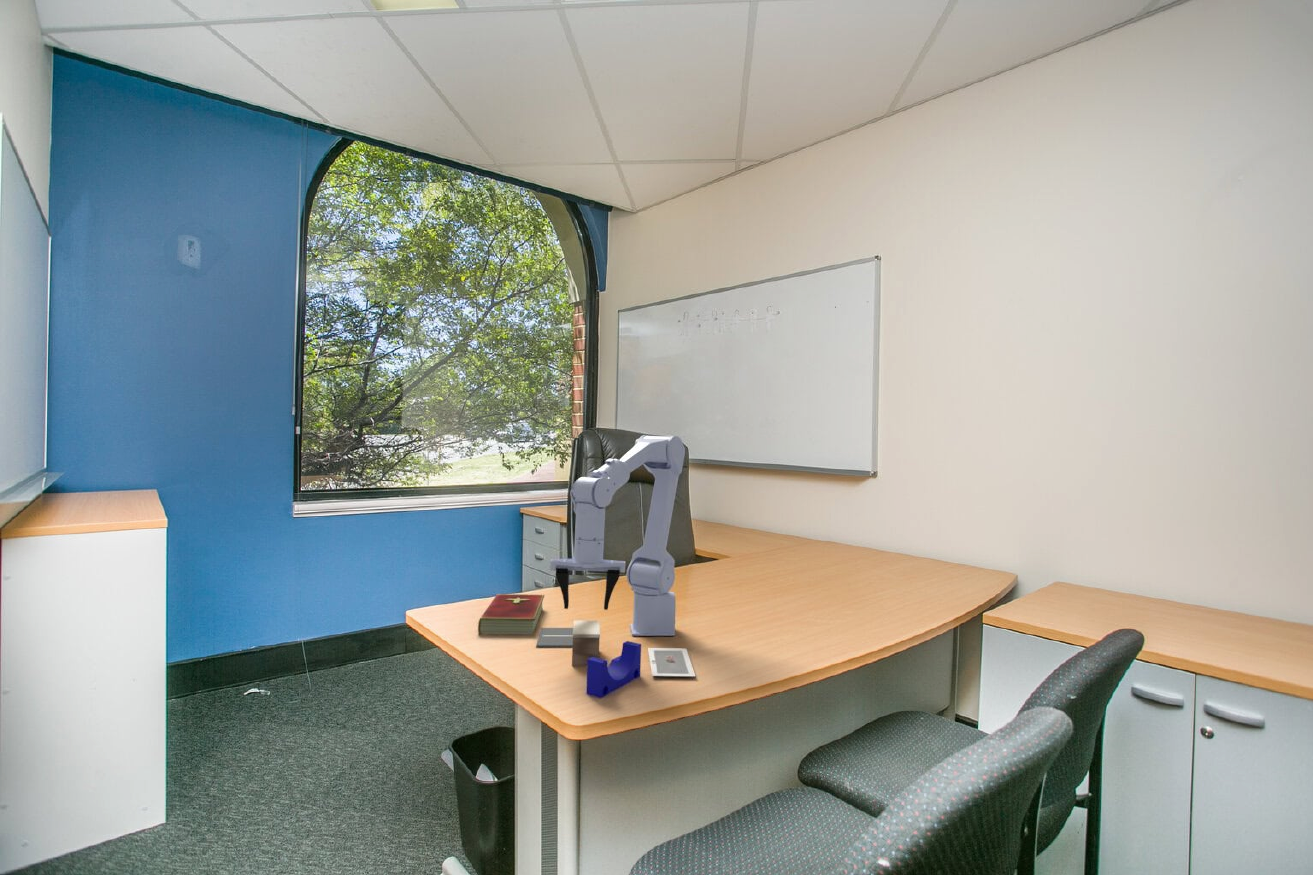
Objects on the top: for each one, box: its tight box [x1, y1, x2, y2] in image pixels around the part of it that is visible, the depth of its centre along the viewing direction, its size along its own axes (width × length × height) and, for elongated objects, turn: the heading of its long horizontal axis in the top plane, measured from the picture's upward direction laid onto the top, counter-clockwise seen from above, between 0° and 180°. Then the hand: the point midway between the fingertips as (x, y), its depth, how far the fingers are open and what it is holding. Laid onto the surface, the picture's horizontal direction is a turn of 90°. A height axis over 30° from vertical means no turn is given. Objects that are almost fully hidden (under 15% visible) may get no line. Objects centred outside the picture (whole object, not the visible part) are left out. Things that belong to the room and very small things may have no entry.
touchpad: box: [647, 647, 696, 677], centre depth 120 cm, size 8×15×2 cm, turn 4°
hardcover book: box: [477, 593, 545, 635], centre depth 145 cm, size 12×21×4 cm, turn 5°
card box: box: [571, 619, 601, 667], centre depth 122 cm, size 5×9×6 cm, turn 6°
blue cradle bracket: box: [585, 640, 642, 699], centre depth 110 cm, size 12×4×6 cm, turn 149°
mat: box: [535, 627, 573, 648], centre depth 134 cm, size 12×12×1 cm
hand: (586, 608), depth 122 cm, fingers open, 7 cm apart
